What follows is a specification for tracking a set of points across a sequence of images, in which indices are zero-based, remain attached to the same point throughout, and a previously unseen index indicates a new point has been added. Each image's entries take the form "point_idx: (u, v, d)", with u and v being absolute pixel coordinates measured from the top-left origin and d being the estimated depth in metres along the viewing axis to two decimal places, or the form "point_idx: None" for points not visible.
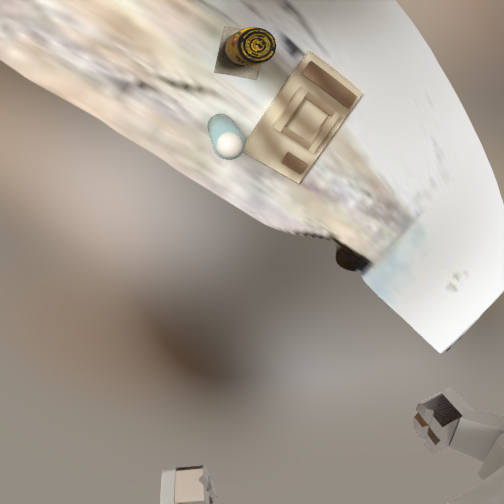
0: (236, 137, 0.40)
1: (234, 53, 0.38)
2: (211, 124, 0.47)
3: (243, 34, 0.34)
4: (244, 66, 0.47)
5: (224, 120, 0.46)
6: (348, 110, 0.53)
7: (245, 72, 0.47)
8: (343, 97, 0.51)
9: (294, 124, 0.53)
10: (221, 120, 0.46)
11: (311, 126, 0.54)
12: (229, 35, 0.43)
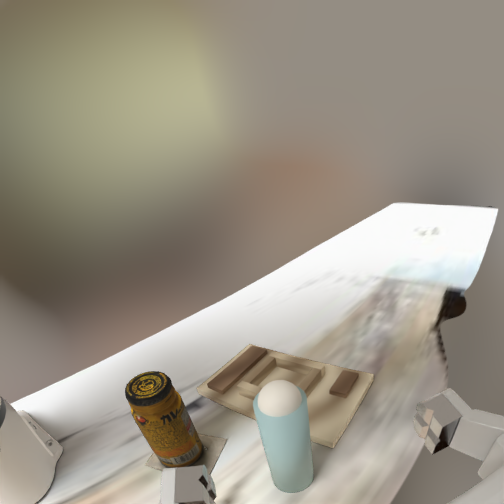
0: (263, 387, 0.24)
1: (157, 420, 0.28)
2: (276, 471, 0.25)
3: (127, 396, 0.28)
4: (205, 450, 0.33)
5: None
6: (270, 351, 0.50)
7: (214, 450, 0.33)
8: (253, 354, 0.48)
9: None
10: None
11: (292, 378, 0.43)
12: (158, 462, 0.31)
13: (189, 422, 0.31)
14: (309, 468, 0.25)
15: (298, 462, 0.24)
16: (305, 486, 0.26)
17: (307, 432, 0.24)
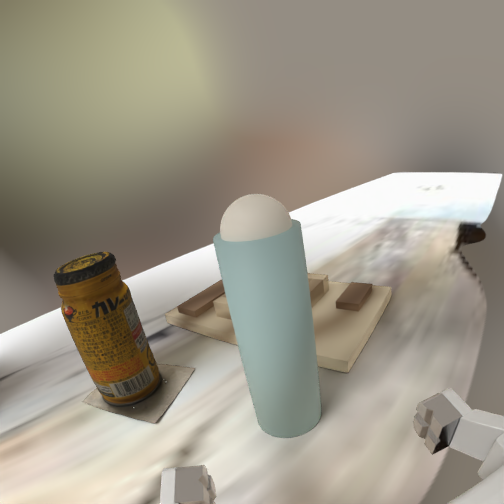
0: None
1: (87, 310, 0.20)
2: (258, 388, 0.17)
3: (55, 274, 0.20)
4: (164, 383, 0.25)
5: None
6: None
7: (176, 381, 0.25)
8: None
9: None
10: None
11: None
12: (100, 398, 0.23)
13: (138, 328, 0.23)
14: (314, 386, 0.17)
15: (294, 363, 0.16)
16: (309, 425, 0.18)
17: (306, 296, 0.16)
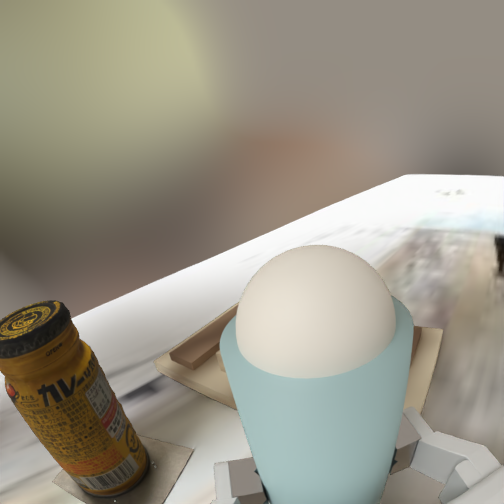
0: None
1: (32, 395, 0.11)
2: None
3: None
4: (153, 469, 0.16)
5: None
6: None
7: (168, 469, 0.16)
8: None
9: None
10: None
11: None
12: (73, 480, 0.15)
13: (110, 411, 0.14)
14: None
15: None
16: None
17: (397, 435, 0.07)
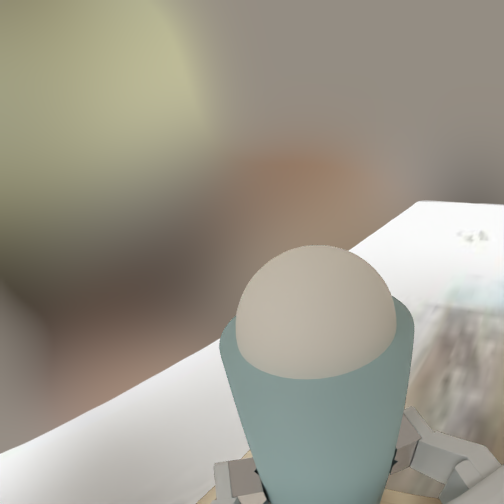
0: None
1: None
2: None
3: None
4: None
5: None
6: None
7: None
8: None
9: None
10: None
11: None
12: None
13: None
14: None
15: None
16: None
17: (398, 435, 0.07)
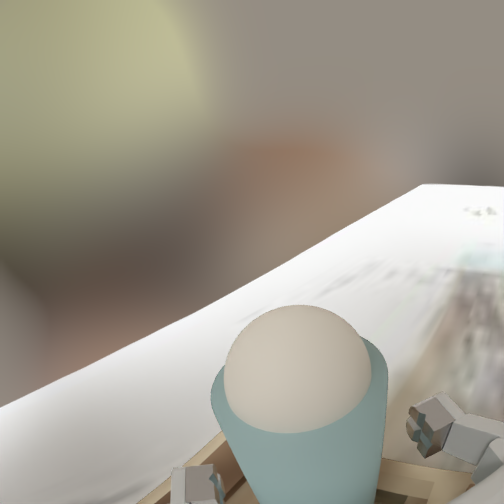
0: None
1: None
2: None
3: None
4: None
5: None
6: None
7: None
8: None
9: None
10: None
11: None
12: None
13: None
14: None
15: None
16: None
17: (379, 464, 0.07)
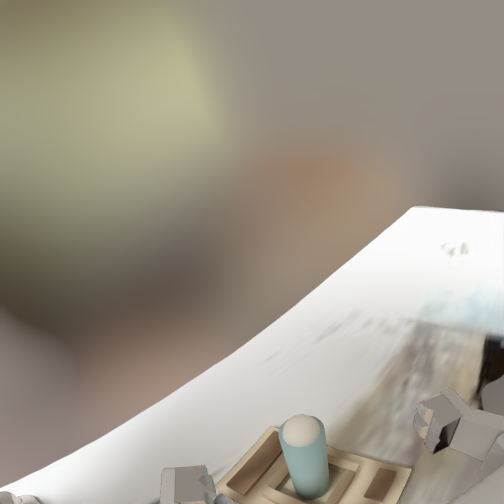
0: (287, 421, 0.27)
1: None
2: (298, 484, 0.28)
3: None
4: None
5: None
6: None
7: None
8: (276, 445, 0.38)
9: (320, 497, 0.29)
10: None
11: None
12: None
13: None
14: (326, 480, 0.28)
15: (317, 477, 0.27)
16: (323, 494, 0.29)
17: (324, 454, 0.26)
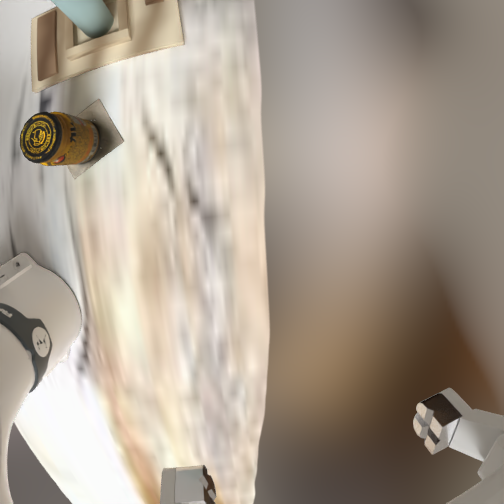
0: None
1: (70, 145, 0.28)
2: (88, 25, 0.27)
3: (39, 160, 0.25)
4: (95, 121, 0.35)
5: (69, 18, 0.24)
6: (57, 8, 0.28)
7: (100, 115, 0.35)
8: (47, 23, 0.28)
9: (112, 26, 0.31)
10: (72, 20, 0.25)
11: None
12: (78, 166, 0.36)
13: (77, 119, 0.30)
14: (106, 9, 0.27)
15: (98, 8, 0.25)
16: (112, 22, 0.30)
17: None
